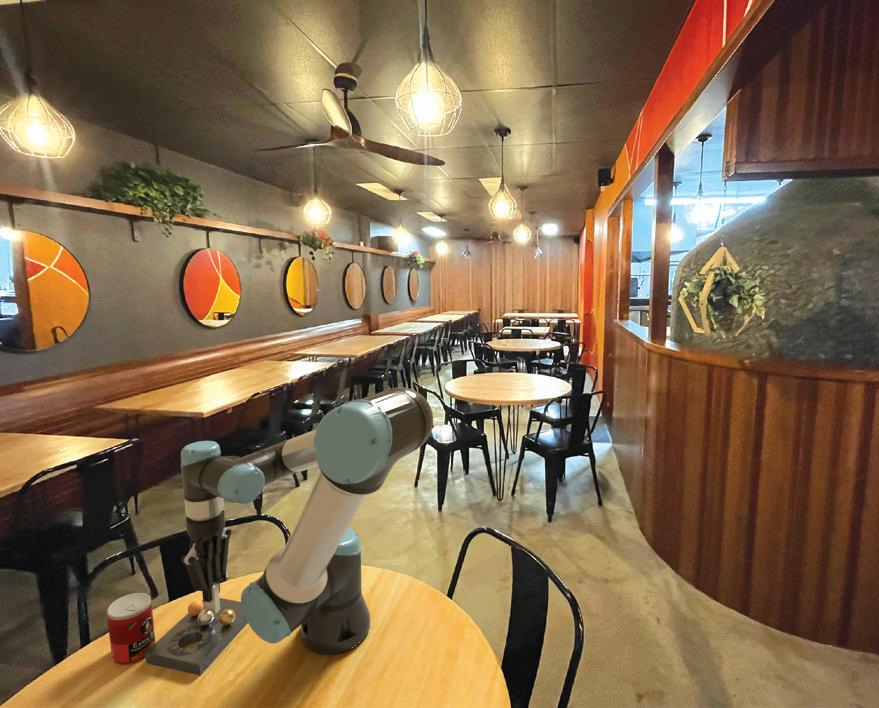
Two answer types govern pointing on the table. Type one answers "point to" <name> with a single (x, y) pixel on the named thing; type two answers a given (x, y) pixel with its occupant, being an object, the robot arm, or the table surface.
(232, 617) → the brass ball
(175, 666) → the bearing plate
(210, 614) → the steel ball
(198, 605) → the orange ball
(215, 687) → the table surface
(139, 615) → the canned food
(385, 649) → the table surface
